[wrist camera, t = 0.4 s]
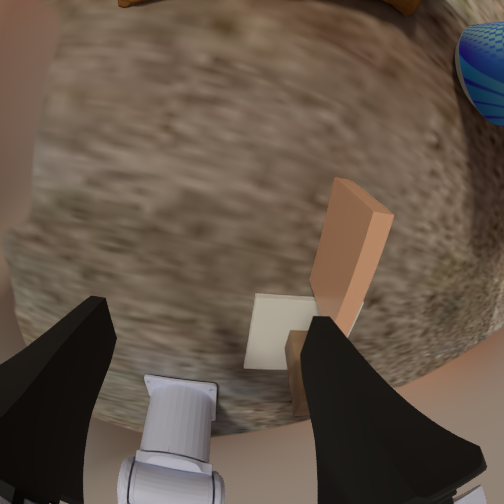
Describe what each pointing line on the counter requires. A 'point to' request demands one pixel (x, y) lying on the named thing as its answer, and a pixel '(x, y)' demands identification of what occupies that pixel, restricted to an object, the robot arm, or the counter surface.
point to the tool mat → (277, 328)
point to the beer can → (483, 68)
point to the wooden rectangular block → (296, 371)
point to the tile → (348, 251)
